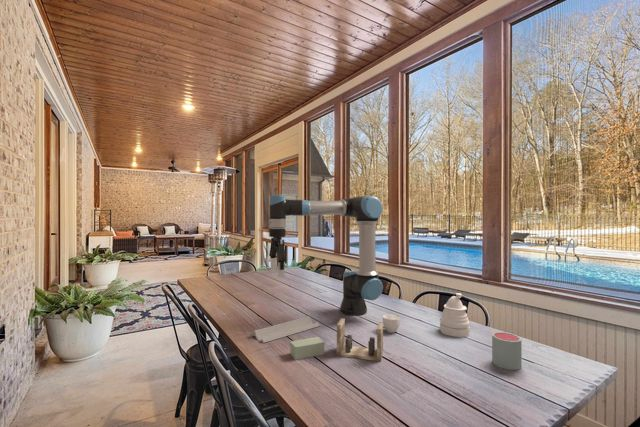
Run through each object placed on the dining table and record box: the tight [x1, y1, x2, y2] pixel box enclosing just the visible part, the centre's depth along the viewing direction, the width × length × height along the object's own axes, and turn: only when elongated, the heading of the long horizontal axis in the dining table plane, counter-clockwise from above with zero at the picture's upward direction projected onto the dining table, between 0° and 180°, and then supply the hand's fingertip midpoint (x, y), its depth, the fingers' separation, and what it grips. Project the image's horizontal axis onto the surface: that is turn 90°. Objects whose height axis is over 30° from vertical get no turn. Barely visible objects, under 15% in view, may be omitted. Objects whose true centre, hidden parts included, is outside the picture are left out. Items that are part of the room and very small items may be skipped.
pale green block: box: [289, 336, 325, 361], centre depth 124 cm, size 12×6×5 cm, turn 114°
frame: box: [336, 317, 384, 362], centre depth 123 cm, size 17×8×12 cm, turn 74°
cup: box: [382, 313, 401, 334], centre depth 149 cm, size 8×10×7 cm
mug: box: [491, 331, 523, 371], centre depth 117 cm, size 14×9×10 cm
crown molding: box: [250, 316, 320, 344], centre depth 148 cm, size 31×12×4 cm, turn 131°
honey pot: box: [439, 292, 471, 338], centre depth 147 cm, size 13×13×18 cm
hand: (277, 274), depth 145 cm, fingers open, 13 cm apart
